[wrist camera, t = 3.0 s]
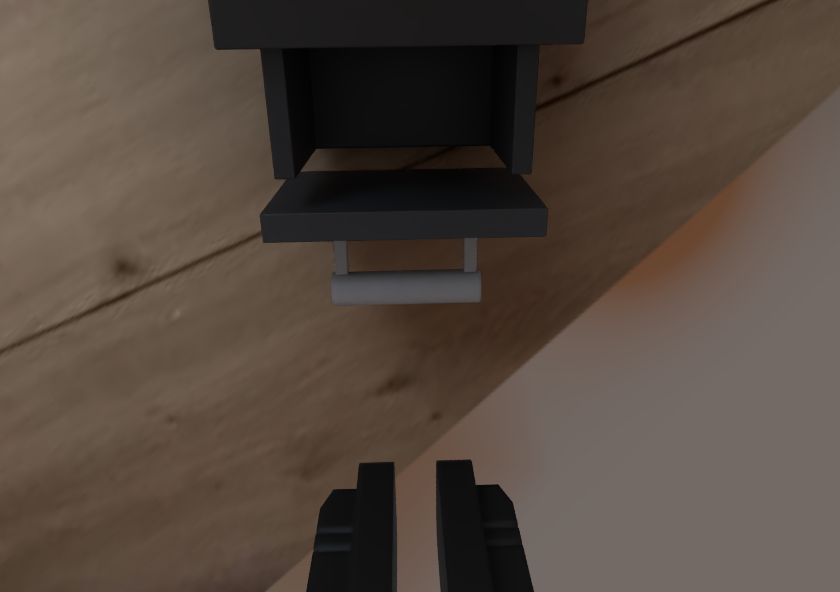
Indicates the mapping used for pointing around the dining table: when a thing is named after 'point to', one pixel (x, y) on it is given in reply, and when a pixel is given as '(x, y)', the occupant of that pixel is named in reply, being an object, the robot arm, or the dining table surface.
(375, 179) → the drawer
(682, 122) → the dining table surface
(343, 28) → the cabinet
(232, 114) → the dining table surface
